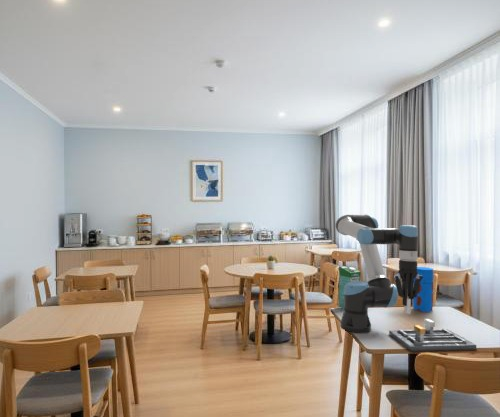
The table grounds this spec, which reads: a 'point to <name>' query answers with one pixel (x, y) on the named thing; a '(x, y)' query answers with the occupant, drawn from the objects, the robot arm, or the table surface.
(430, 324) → the fader
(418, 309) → the thermos
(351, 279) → the milk carton
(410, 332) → the console
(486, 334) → the table surface
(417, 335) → the fader
